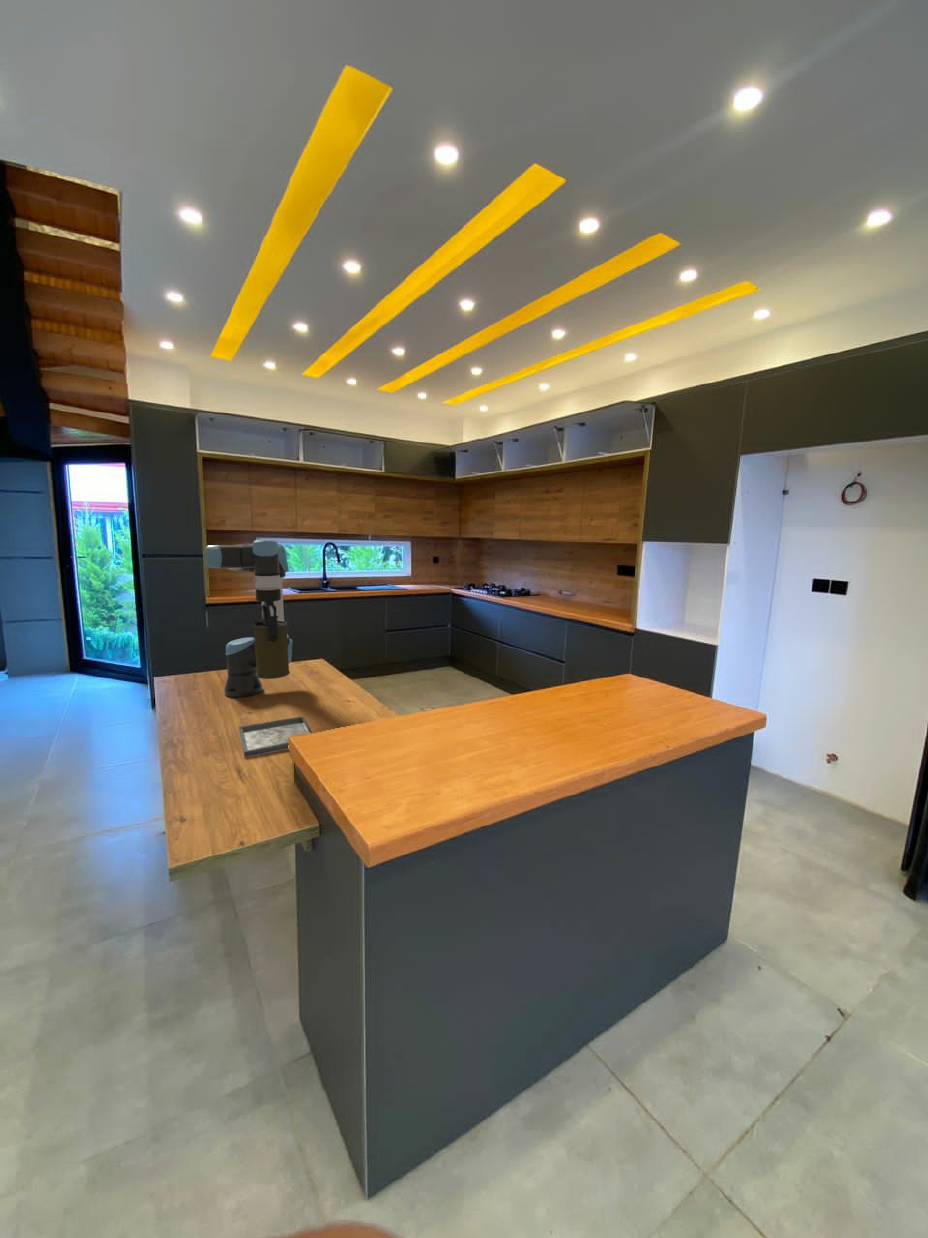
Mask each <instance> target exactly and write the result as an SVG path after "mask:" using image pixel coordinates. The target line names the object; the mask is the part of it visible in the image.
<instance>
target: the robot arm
mask: <svg viewBox="0 0 928 1238" xmlns="http://www.w3.org/2000/svg"><path fill="white" fill-rule="evenodd" d="M204 553H205V554H204V557H205V564H206V567H208V568H209V569H217V570H218V569H219V570H220V569H227V570H231V571H237V572H240V573H241V572H242V573H254V578H252V582H254V583H255V588H256V590H255V599H256V601H257V602H261V616H262V617H263V616H265V620H266V621H267V626H268V631H269V641H270V640H271V641H275V640H277V639H278V637H277V622H276V616H278V618H277V621H285V615H284V614H285V612H284V596H283V595H284V593H283V592H284V591H283V580H284V579H285V577H286V573H288V572H289V570H290V568H289V564H288V558H287V553H286V548H285V546H284V544H282V543H281V544H280V543H278V541H276V540H271V539H270V540H269V539H268V540H267V539H266V540H263V539H262V540H260V539H258V540H254V541H252V543H238V544H231V545H229V544H227V545H226V544H221V545H220V544H219V545H218V544H214V545H207V546H205V549H204ZM272 636H273V637H272ZM289 637H290V636H289V634H288V633H287V642H288V661H289V664H290V663H291V662H292V652H293V639H292V638H289ZM266 641H268V639H267V640H266ZM225 656H226V657H225V658H226V668H227V670H226V671H227V678H226V681H225V685H224V689H223V690H224V695H225V696H226V697H228V698H245V697H251V696H254V695H258V694H260V693H261V692H262V691H263V684H262V681H261V678H258V677H257V666H256V651H255V637H252V636H250V637H242V638H238V639H234V640H231V641H229V642H227V644H225Z"/></svg>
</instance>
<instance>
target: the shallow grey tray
mask: <svg viewBox="0 0 928 1238" xmlns="http://www.w3.org/2000/svg"><path fill="white" fill-rule="evenodd" d="M307 733H313V734H314V732H313V731H312V728H311V727H310V725H309V723H308V722H307V720H306V718H305V715H304V716H297V717H292V718H291V717H290V718H285V719H279V720H272V721H265V722H258V723H254V724H246V725H241V726H238V734H239V737H240V742H241V747H242V752H243V757H244V758H251V757H255V756H261V755H265V754H270V753H276V752H283V751H286V750H289V749H288V745H289V743H288V737H290V736H295V735H300V734H307Z"/></svg>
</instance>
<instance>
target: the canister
mask: <svg viewBox="0 0 928 1238" xmlns="http://www.w3.org/2000/svg"><path fill="white" fill-rule="evenodd" d="M277 618H278V616H276V622H277V637H278V639H277V640H275V641H271V640H270V641H269V631H268V626H267V621H266V620H265V616H262V620H261V621H260V620H257V621H254V623H253V624H252V627H253V631H254V639H255V651H256V666H257V677H258V678H259V679H263V680H271V679H272V680H274V679H275V680H276V679H279V678H280V679H282V678H284V677H287V676H289V675H291V671H290V663H289V661H288V642H287V634H288V630H287V629H288V622H287V621H285V620H284V621H277ZM272 637H273V636H272ZM267 639H268V641H266V640H267Z"/></svg>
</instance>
